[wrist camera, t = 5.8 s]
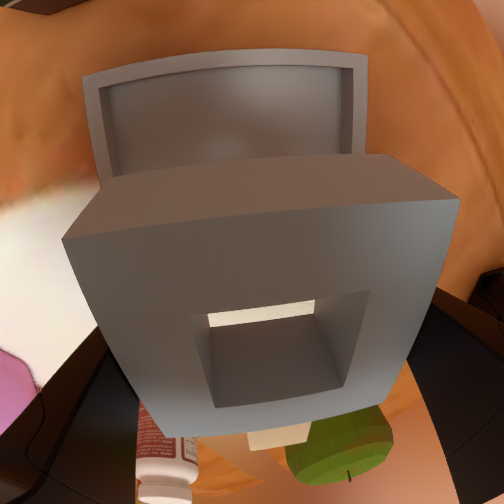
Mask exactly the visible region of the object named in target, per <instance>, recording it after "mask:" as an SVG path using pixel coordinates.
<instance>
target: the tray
mask: <svg viewBox="0 0 504 504" xmlns="http://www.w3.org/2000/svg"><path fill="white" fill-rule="evenodd" d="M82 85H83V93H84V101H85V108H86V115H87V121H88V127H89V133H90V139H91V144H92V149H93V155H94V160H95V164H96V169H97V174H98V178H99V182H100V187H101V188H102V187H103V186H104V185H105V183H106V182H107V181H108V180H109V179H110V178H112V177H117V176H122V175H128V174H134V173H140V172H146V171H152V170H159V169H165V168H172V167H180V166H187V165H195V164H203V163H212V162H221V161H231V160H242V159H253V158H266V157H281V156H300V155H325V154H365V148H366V129H367V98H368V60H367V55H364V54H356V53H347V52H337V51H325V50H310V49H239V50H224V51H212V52H202V53H193V54H185V55H178V56H171V57H165V58H159V59H153V60H148V61H143V62H138V63H133V64H128V65H124V66H120V67H116V68H112V69H108V70H104V71H100V72H96V73H93V74H89V75H86V76H83V77H82Z"/></svg>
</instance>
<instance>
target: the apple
mask: <svg viewBox="0 0 504 504" xmlns="http://www.w3.org/2000/svg"><path fill="white" fill-rule="evenodd" d="M393 444H394V443H393V434H392V429H391V427H390V425H389V423H388V422H387V420H386V418H385V417H384V415H383V413H382V411H381V410H380V408H379V406H378V405H374V406H370V407H367V408H363V409H360V410H356V411H353V412H349V413H345V414H341V415H337V416H333V417H329V418H325V419H320V420H316V421H312V422H311V426H310V430H309V433H308V437H307V441H306V442H303V443H298V444H292V445H287V446H285V452H286V459H287V463H288V465H289V468H290V469H291V471H292V473H293V474H294V476H295V478H296V479H297V480H298V481H300V482H303V483H305V484H308V485H322V484H329V483H333V482H338V481H342V480H345V479H349V482H351V478H352V477H354V476H357V475H359V474H362V473H364V472H366V471H368V470H370V469H372V468H374V467H376V466H377V465H379V464H380V463H382V462H383V461H384V460H385V459H386V457H387V455H388V453H389V451H390V450H391V448H392V446H393Z"/></svg>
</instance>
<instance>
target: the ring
mask: <svg viewBox="0 0 504 504" xmlns="http://www.w3.org/2000/svg"><path fill="white" fill-rule="evenodd" d="M460 201H461V199H460V198H459V197H457V196H456V195H454V194H453V193H451V192H450V191H448V190H447V189H445V188H443V187H442V186H440V185H439V184H437V183H436V182H434V181H432V180H431V179H429V178H427V177H426V176H424V175H423V174H421V173H419V172H418V171H416V170H414V169H412V168H411V167H409V166H407V165H405V164H404V163H402V162H400V161H398V160H397V159H395V158H393V157H391V156H389V155H387V154H325V155H300V156H281V157H266V158H253V159H242V160H231V161H221V162H212V163H203V164H195V165H187V166H180V167H172V168H165V169H159V170H152V171H146V172H140V173H134V174H128V175H122V176H117V177H112V178H110V179H109V180H108V181H107V182H106V183H105V185H104V186H103V187H102V188H101V189H100V191H99V192H98V193H97V194H96V195H95V196H94V198H93V199H92V200H91V201H90V203H89V204H88V205H87V206H86V208H85V209H84V210H83V211H82V213H81V214H80V215H79V216H78V218H77V219H76V220H75V222H74V223H73V224H72V225H71V227H70V228H69V229H68V231H67V232H66V234H65V235H64V236H63V238H62V239H61V240H62V242H63V245H64V248H65V251H66V253H67V256H68V258H69V261H70V264H71V266H72V269H73V271H74V273H75V276H76V278H77V281H78V283H79V285H80V288H81V290H82V292H83V295H84V297H85V299H86V301H87V303H88V306H89V308H90V310H91V312H92V314H93V316H94V318H95V320H96V322H97V324H98V326H99V328H100V330H101V332H102V334H103V336H104V338H105V340H106V342H107V344H108V346H109V348H110V349H111V351H112V353H113V355H114V357H115V359H116V360H117V362H118V364H119V366H120V367H121V369H122V371H123V373H124V374H125V376H126V378H127V379H128V381H129V383H130V384H131V386H132V388H133V389H134V391H135V392H136V394H137V396H138V397H139V399H140V400H141V402H142V403H143V405H144V406H145V408H146V409H147V411H148V412H149V414H150V415H151V417H152V418H153V420H154V421H155V423H156V424H157V426H158V427H159V428H160V430H161V431H162V433H163V434H164V435H165V437H166V438H180V437H201V436H215V435H226V434H236V433H245V432H247V436H248V442H249V447H250V451H255V450H262V449H269V448H275V447H281V446H287V445H292V444H298V443H303V442H306V441H307V437H308V433H309V430H310V426H311V422H312V421H316V420H320V419H325V418H329V417H333V416H337V415H341V414H345V413H349V412H353V411H356V410H360V409H363V408H367V407H370V406H374V405H377V404H380V403H383V402H384V401H385V399H386V397H387V396H388V394H389V392H390V390H391V388H392V386H393V384H394V383H395V381H396V379H397V377H398V375H399V373H400V371H401V369H402V367H403V365H404V363H405V361H406V358H407V356H408V354H409V352H410V350H411V348H412V346H413V343H414V341H415V339H416V337H417V334H418V332H419V330H420V327H421V325H422V322H423V320H424V318H425V315H426V313H427V310H428V307H429V305H430V302H431V300H432V297H433V294H434V291H435V289H436V286H437V283H438V280H439V277H440V274H441V271H442V268H443V265H444V262H445V258H446V255H447V252H448V248H449V245H450V241H451V238H452V234H453V230H454V227H455V223H456V219H457V215H458V210H459V206H460ZM314 299H315V307H314V313H313V314H307V315H301V316H294V317H287V318H281V319H274V320H266V321H259V322H251V323H244V324H235V325H227V326H218V327H210V325H209V320H208V315H207V314H208V313H217V312H226V311H234V310H242V309H250V308H258V307H266V306H273V305H280V304H287V303H294V302H301V301H308V300H314Z"/></svg>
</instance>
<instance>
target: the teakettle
mask: <svg viewBox="0 0 504 504" xmlns="http://www.w3.org/2000/svg"><path fill="white" fill-rule="evenodd" d="M36 395H37V391H36V388H35V385H34V382H33V379H32V377H31V374H30V371H29V369H28V367H27V365H26V364H25V363H24V362H23V361H21V360H19V359H18V358H16V357H14V356H12V355H10V354H8V353H6V352H4V351H2V350H0V435H1V434H2V433H3V432H4V431H5V430H6V429H7V428H8V427H9V426H10V425H11V424H12V423H13V421H14V420H15V419H16V418H17V417H18V416H19V415H20V414H21V413H22V411H23V410H24V409H25V408H26V407H27V406H28V404H29V403H30V402H31V401H32V400H33V399H34V397H35V396H36Z"/></svg>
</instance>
